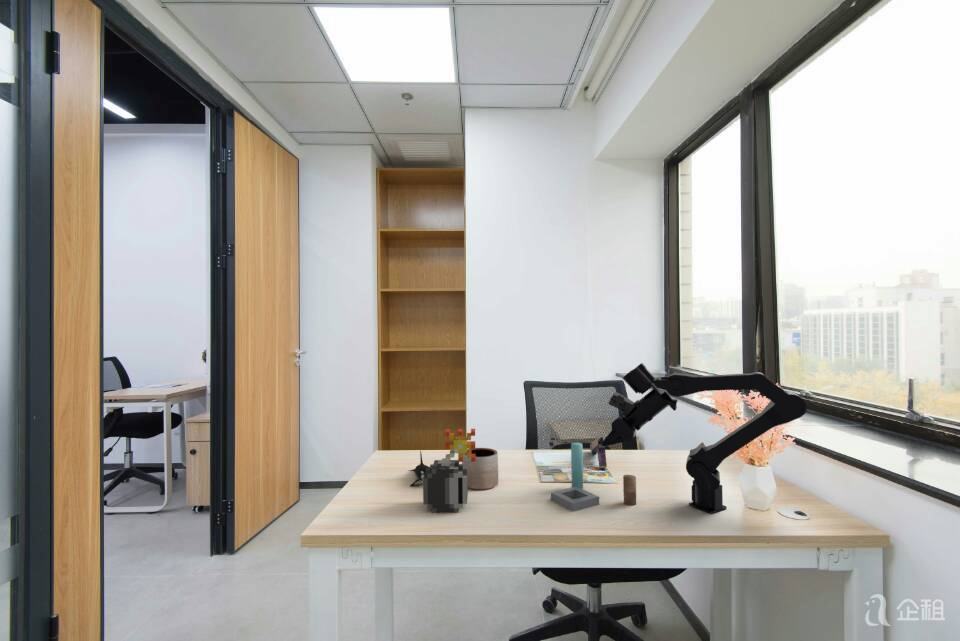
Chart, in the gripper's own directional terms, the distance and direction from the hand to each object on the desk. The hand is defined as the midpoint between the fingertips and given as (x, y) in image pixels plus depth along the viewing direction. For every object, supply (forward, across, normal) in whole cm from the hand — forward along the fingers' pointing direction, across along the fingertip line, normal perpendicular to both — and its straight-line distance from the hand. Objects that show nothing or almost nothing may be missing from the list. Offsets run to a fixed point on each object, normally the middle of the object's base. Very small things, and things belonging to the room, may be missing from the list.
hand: (605, 441), depth 130 cm
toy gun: (+16, -30, +5) cm, 34 cm away
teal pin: (+16, +1, +5) cm, 16 cm away
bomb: (+36, +28, -12) cm, 47 cm away
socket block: (+14, +11, +6) cm, 19 cm away
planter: (+36, +9, -13) cm, 39 cm away
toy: (+50, +12, -25) cm, 58 cm away
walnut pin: (+4, +6, +16) cm, 17 cm away
